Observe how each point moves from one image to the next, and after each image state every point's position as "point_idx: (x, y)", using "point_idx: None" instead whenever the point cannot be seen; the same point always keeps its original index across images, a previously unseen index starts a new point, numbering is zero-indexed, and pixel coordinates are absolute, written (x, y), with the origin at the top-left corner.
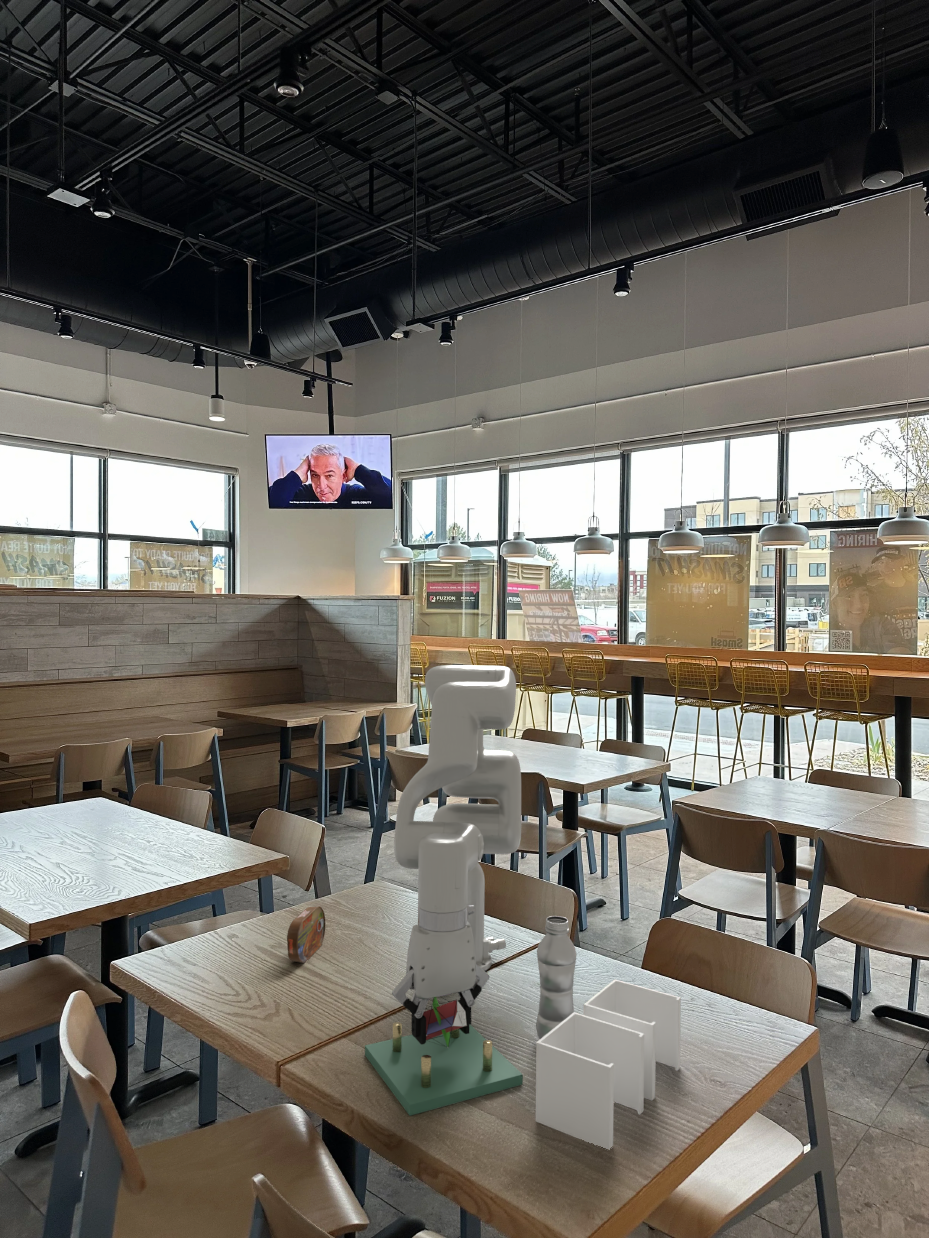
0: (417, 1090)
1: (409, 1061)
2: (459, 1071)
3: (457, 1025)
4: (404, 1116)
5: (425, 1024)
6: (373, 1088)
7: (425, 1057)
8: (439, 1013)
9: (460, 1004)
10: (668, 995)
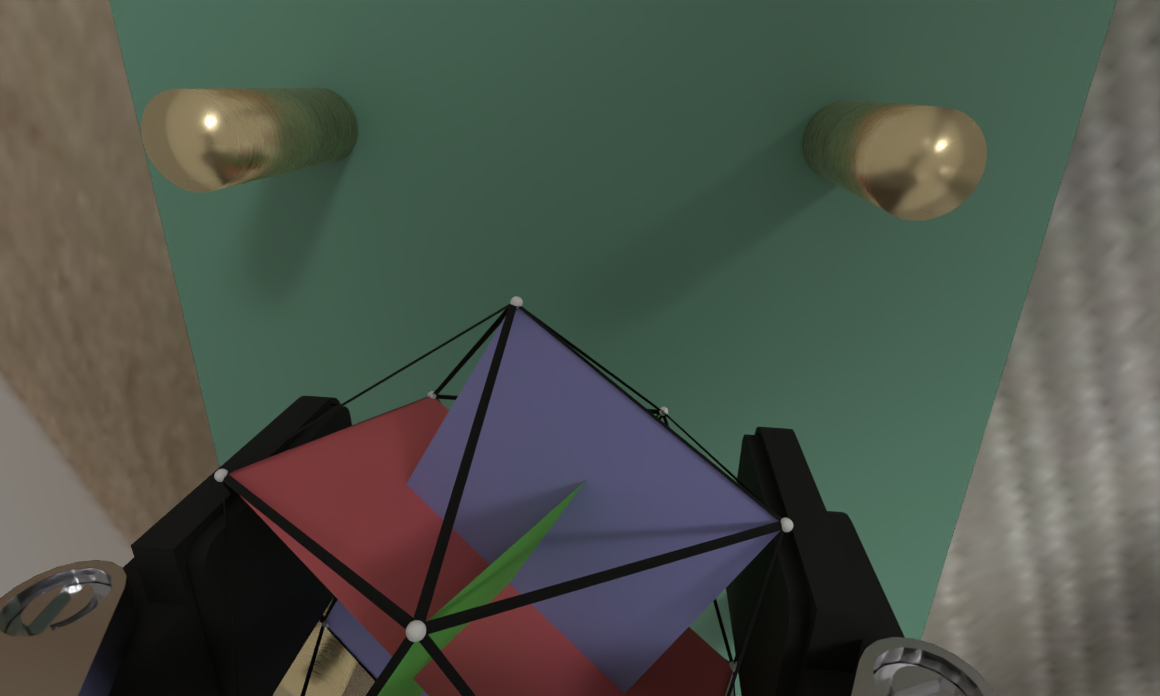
0: None
1: (366, 314)
2: None
3: None
4: None
5: (280, 668)
6: (164, 350)
7: (299, 693)
8: (472, 631)
9: (788, 685)
10: None
